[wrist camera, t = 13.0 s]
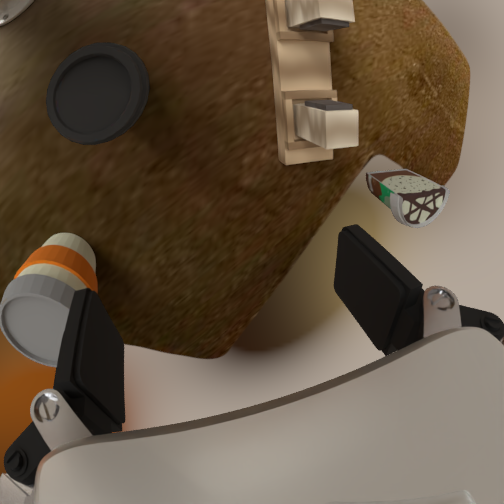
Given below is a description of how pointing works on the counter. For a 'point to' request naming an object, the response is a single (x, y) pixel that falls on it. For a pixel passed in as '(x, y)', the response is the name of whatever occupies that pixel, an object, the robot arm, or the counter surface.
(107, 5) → the counter surface
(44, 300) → the reusable coffee cup
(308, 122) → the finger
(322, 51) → the rail
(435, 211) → the food container
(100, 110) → the coffee cup
